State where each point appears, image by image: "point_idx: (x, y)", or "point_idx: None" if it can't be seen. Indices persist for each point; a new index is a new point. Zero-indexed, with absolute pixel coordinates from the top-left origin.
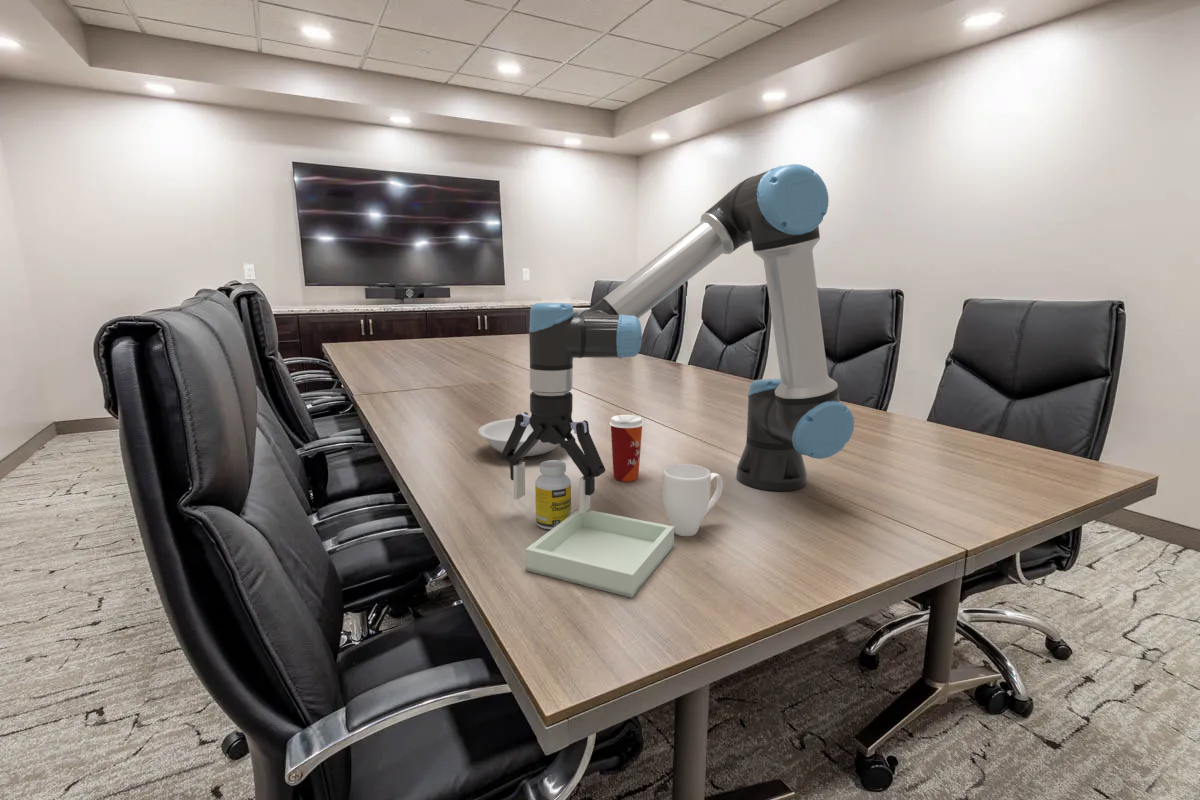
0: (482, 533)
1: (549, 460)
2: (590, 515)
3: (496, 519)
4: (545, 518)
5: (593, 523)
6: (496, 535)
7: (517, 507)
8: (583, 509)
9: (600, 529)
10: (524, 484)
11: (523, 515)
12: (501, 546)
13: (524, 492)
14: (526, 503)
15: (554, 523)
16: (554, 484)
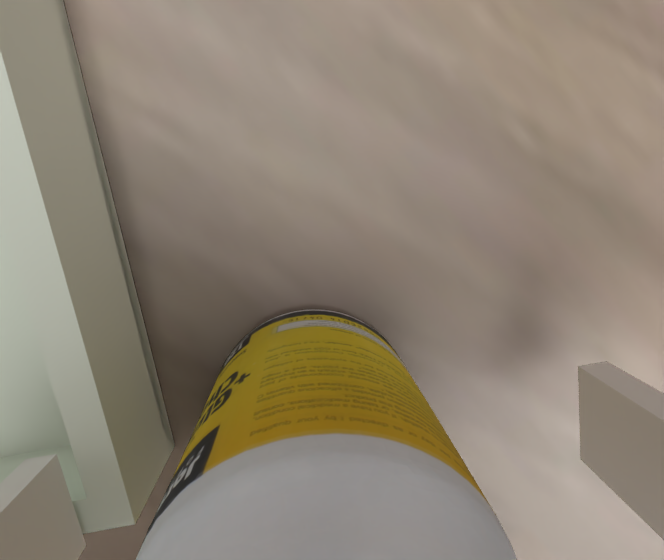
0: (559, 76)
1: None
2: None
3: (604, 258)
4: (289, 329)
5: None
6: (476, 103)
7: None
8: (4, 484)
9: (15, 457)
10: (644, 512)
11: (512, 377)
12: (359, 8)
13: (595, 465)
14: (589, 491)
15: (240, 343)
16: (173, 555)
